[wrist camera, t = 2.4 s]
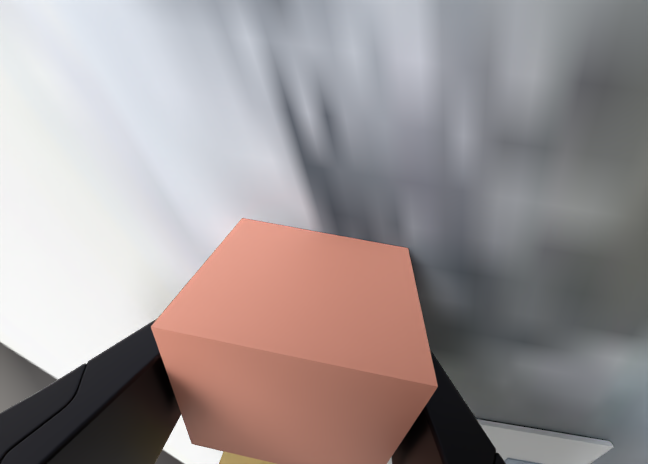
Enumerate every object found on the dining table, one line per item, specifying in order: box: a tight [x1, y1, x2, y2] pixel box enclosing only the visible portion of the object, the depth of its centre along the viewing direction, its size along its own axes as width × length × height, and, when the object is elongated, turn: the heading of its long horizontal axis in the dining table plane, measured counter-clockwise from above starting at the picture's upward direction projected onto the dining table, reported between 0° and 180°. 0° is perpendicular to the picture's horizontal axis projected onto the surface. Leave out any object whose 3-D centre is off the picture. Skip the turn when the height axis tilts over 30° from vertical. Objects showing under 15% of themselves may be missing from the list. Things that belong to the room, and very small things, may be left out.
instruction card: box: [387, 419, 614, 464], centre depth 13 cm, size 9×7×1 cm
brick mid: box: [151, 218, 438, 464], centre depth 8 cm, size 5×5×4 cm
